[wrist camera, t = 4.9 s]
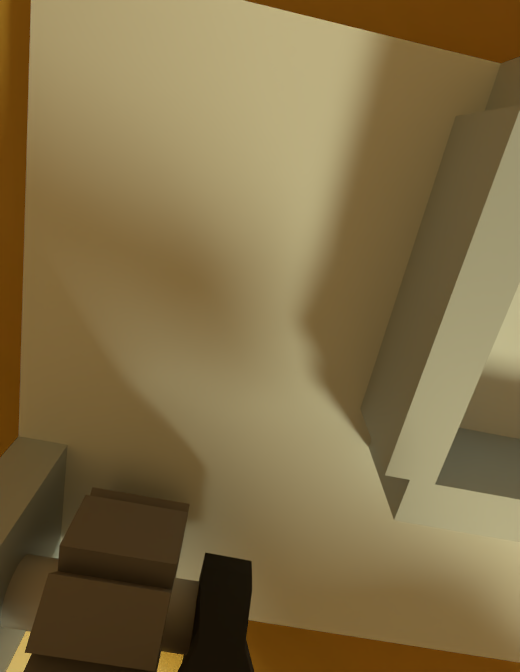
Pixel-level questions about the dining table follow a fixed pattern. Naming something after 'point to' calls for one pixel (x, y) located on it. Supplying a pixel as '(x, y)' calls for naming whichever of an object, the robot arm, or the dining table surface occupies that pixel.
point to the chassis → (274, 315)
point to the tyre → (110, 586)
